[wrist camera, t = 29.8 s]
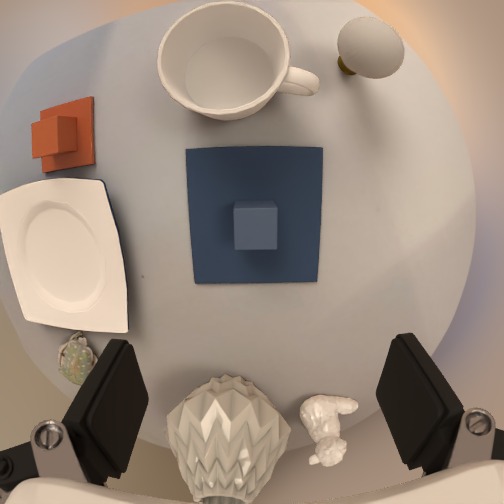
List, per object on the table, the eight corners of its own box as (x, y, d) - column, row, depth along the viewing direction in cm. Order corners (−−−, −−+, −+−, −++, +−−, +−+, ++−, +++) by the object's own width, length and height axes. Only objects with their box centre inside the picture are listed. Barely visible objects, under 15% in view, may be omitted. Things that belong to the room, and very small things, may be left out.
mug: (166, 110, 28) (139, 100, 20) (198, 24, 24) (182, -8, 17) (289, 145, 29) (303, 145, 21) (319, 57, 26) (340, 32, 18)
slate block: (235, 200, 31) (233, 208, 27) (274, 200, 31) (277, 207, 27) (236, 237, 32) (234, 250, 28) (274, 237, 32) (277, 249, 28)
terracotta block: (51, 123, 27) (31, 123, 23) (76, 117, 27) (57, 115, 23) (52, 155, 28) (32, 158, 24) (77, 150, 28) (58, 152, 24)
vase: (304, 401, 41) (321, 505, 24) (219, 433, 44) (211, 525, 27) (244, 333, 37) (240, 460, 19) (153, 378, 40) (118, 481, 22)
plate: (32, 316, 37) (23, 324, 34) (3, 187, 30) (-9, 190, 27) (142, 328, 37) (136, 339, 34) (120, 168, 30) (110, 170, 27)
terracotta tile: (42, 111, 27) (40, 111, 26) (93, 96, 27) (91, 96, 26) (45, 172, 29) (42, 173, 29) (95, 163, 29) (92, 164, 29)
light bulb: (374, 52, 25) (417, 24, 16) (368, 97, 27) (413, 82, 18) (324, 35, 25) (352, -3, 15) (316, 82, 27) (345, 55, 17)
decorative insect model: (40, 341, 37) (31, 362, 33) (87, 323, 38) (80, 346, 33) (70, 377, 41) (65, 398, 37) (118, 363, 42) (115, 386, 37)
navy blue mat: (186, 149, 29) (185, 149, 29) (321, 147, 29) (322, 147, 29) (195, 282, 34) (194, 283, 34) (316, 280, 34) (316, 281, 34)
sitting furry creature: (313, 428, 44) (323, 484, 33) (279, 410, 42) (285, 472, 31) (357, 400, 42) (377, 457, 30) (327, 378, 40) (345, 442, 28)
